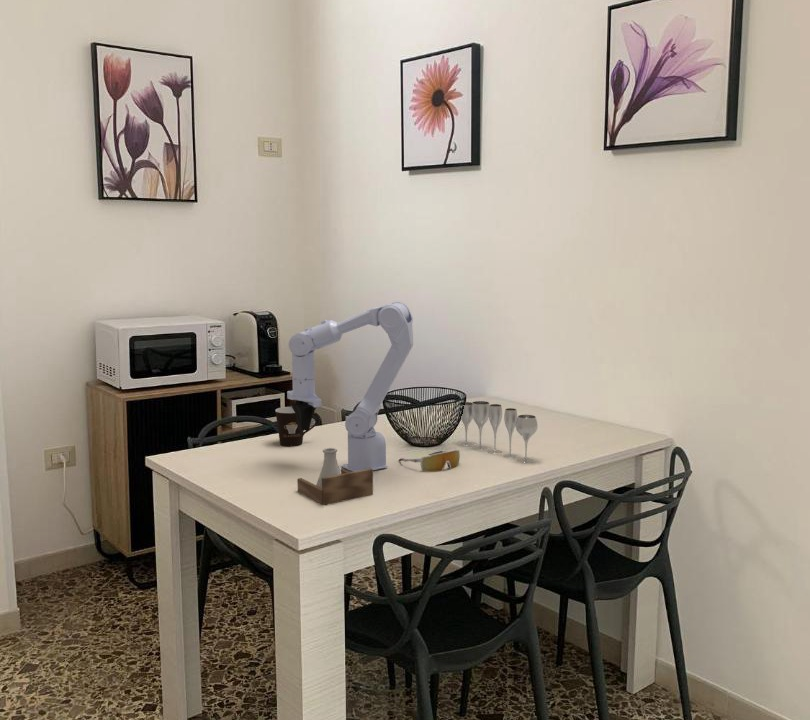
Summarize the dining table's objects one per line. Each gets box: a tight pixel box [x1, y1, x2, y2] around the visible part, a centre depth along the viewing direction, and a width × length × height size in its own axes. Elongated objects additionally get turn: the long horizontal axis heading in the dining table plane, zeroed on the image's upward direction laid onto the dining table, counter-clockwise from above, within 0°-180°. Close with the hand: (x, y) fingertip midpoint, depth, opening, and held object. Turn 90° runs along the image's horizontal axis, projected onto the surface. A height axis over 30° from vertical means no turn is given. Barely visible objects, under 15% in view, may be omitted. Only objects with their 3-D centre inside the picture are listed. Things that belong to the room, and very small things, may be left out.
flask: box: [315, 447, 341, 488], centre depth 195 cm, size 7×7×10 cm
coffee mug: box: [275, 406, 320, 448], centre depth 238 cm, size 12×9×10 cm
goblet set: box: [458, 400, 538, 464], centre depth 228 cm, size 28×6×13 cm, turn 40°
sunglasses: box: [398, 449, 461, 472], centre depth 218 cm, size 14×15×5 cm
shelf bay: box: [296, 468, 374, 506], centre depth 194 cm, size 13×12×6 cm
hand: (304, 429), depth 215 cm, fingers closed
